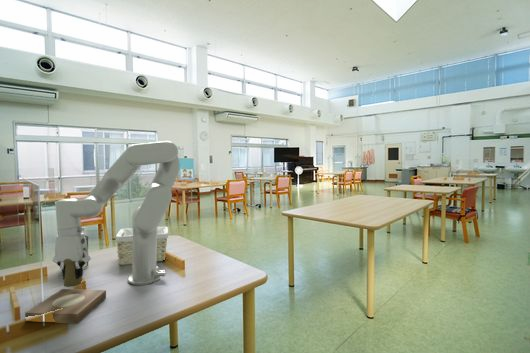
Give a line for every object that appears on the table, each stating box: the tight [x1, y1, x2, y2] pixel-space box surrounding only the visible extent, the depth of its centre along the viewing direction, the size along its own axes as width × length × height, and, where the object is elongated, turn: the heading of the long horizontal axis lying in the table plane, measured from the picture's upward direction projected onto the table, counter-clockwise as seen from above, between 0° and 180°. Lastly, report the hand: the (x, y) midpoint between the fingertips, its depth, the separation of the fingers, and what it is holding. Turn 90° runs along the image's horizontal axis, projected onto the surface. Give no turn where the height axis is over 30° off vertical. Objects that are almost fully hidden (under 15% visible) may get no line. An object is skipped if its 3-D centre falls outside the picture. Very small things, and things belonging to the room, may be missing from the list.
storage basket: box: [115, 226, 169, 266], centre depth 144 cm, size 24×16×15 cm
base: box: [24, 288, 107, 324], centre depth 95 cm, size 16×16×3 cm
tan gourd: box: [63, 259, 83, 288], centre depth 108 cm, size 6×6×11 cm
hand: (73, 277), depth 108 cm, fingers closed on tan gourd, 4 cm apart
